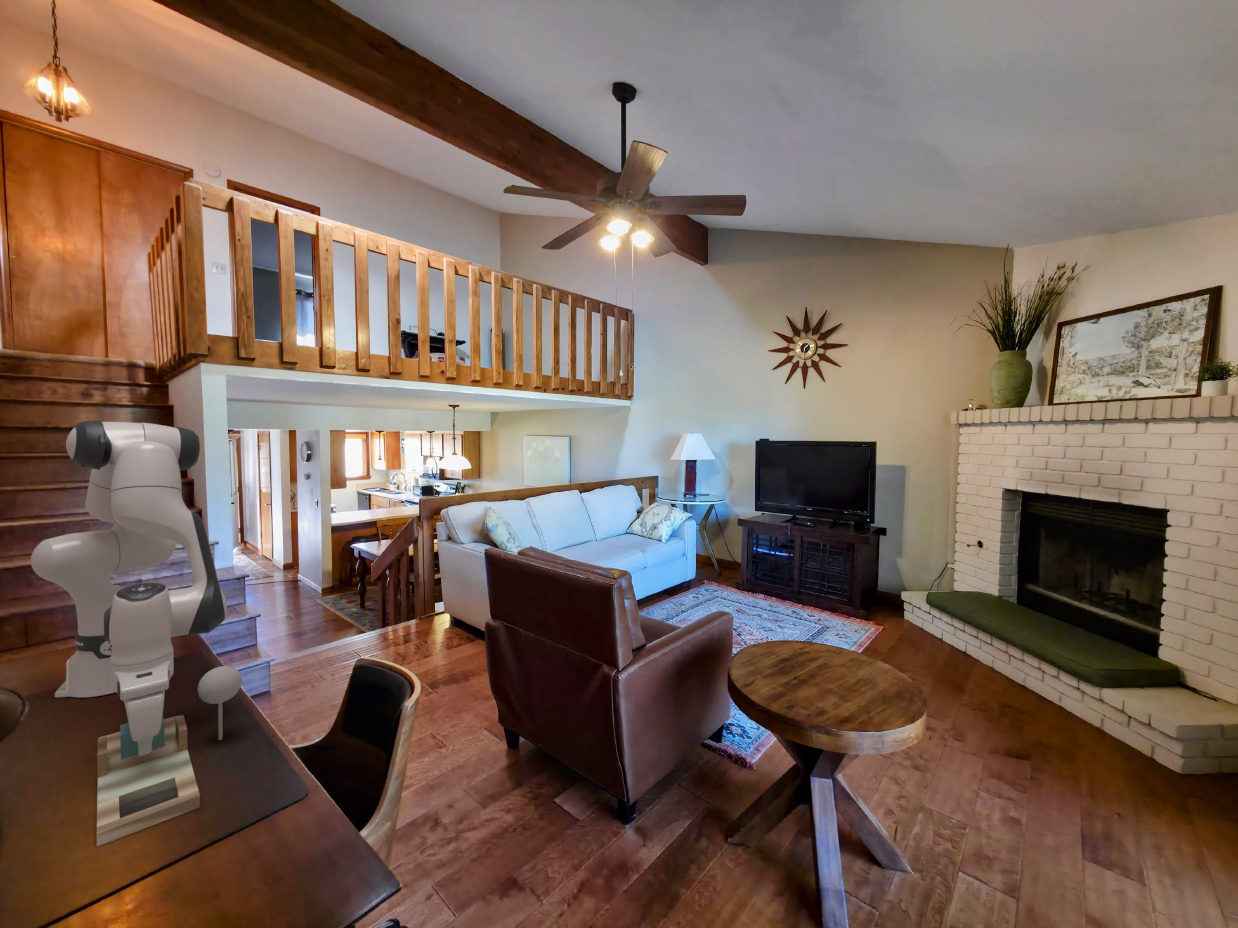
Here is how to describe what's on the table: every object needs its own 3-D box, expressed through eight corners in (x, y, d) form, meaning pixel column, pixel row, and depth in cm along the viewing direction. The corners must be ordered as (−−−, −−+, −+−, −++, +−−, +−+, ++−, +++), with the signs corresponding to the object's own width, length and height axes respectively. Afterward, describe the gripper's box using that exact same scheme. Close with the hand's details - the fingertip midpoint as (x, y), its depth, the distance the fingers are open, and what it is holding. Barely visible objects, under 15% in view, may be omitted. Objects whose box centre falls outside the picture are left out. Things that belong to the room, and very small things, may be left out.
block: (120, 747, 97) (120, 724, 96) (162, 735, 101) (162, 713, 101) (121, 759, 93) (120, 735, 93) (164, 746, 97) (164, 723, 97)
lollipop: (250, 733, 106) (249, 663, 105) (213, 752, 99) (212, 677, 98) (226, 726, 108) (226, 658, 107) (189, 745, 101) (188, 671, 101)
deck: (98, 747, 100) (98, 717, 100) (178, 724, 108) (178, 697, 108) (96, 846, 75) (96, 807, 75) (199, 807, 84) (199, 771, 84)
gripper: (118, 659, 101) (119, 727, 101) (120, 695, 86) (121, 773, 87) (160, 650, 105) (161, 715, 105) (169, 683, 91) (170, 758, 91)
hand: (143, 742), depth 96 cm, fingers open, 8 cm apart
